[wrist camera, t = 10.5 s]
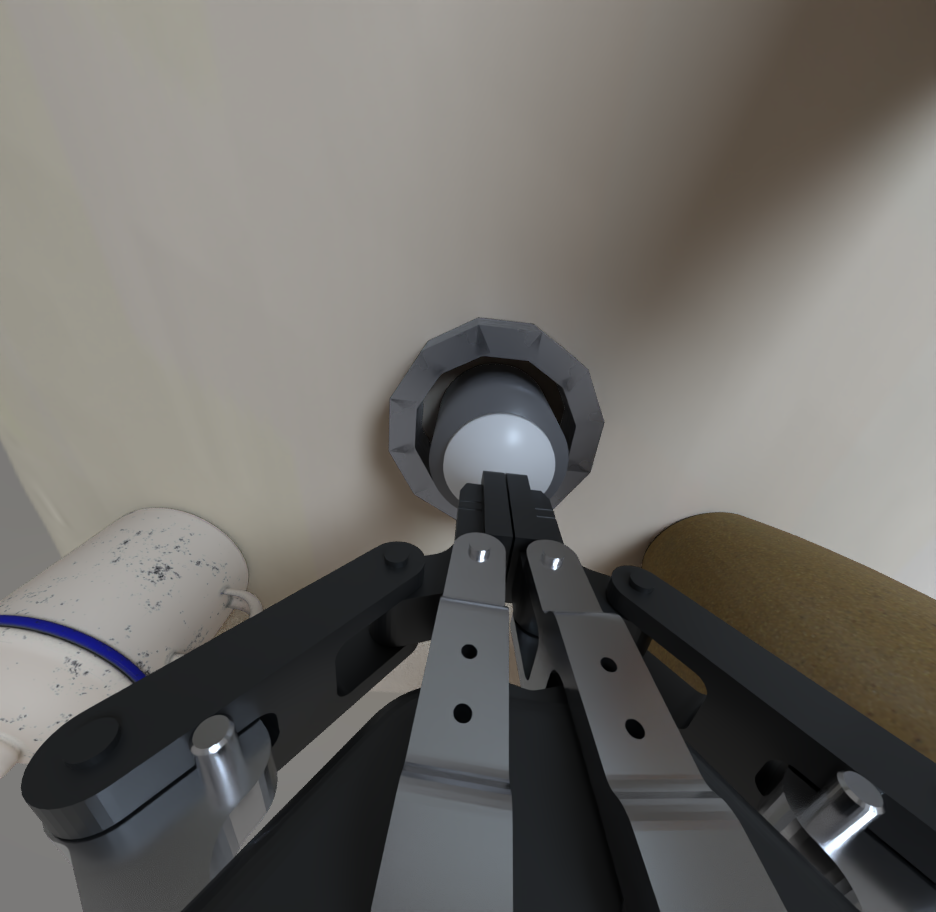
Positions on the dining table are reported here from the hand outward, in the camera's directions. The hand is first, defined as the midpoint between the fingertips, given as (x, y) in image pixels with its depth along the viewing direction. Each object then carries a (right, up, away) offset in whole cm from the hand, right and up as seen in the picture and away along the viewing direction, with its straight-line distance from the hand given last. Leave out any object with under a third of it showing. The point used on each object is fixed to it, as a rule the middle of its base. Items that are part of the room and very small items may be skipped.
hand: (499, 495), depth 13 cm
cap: (0, +3, +7) cm, 8 cm away
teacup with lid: (-18, -5, +12) cm, 22 cm away
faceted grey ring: (0, +3, +7) cm, 8 cm away
